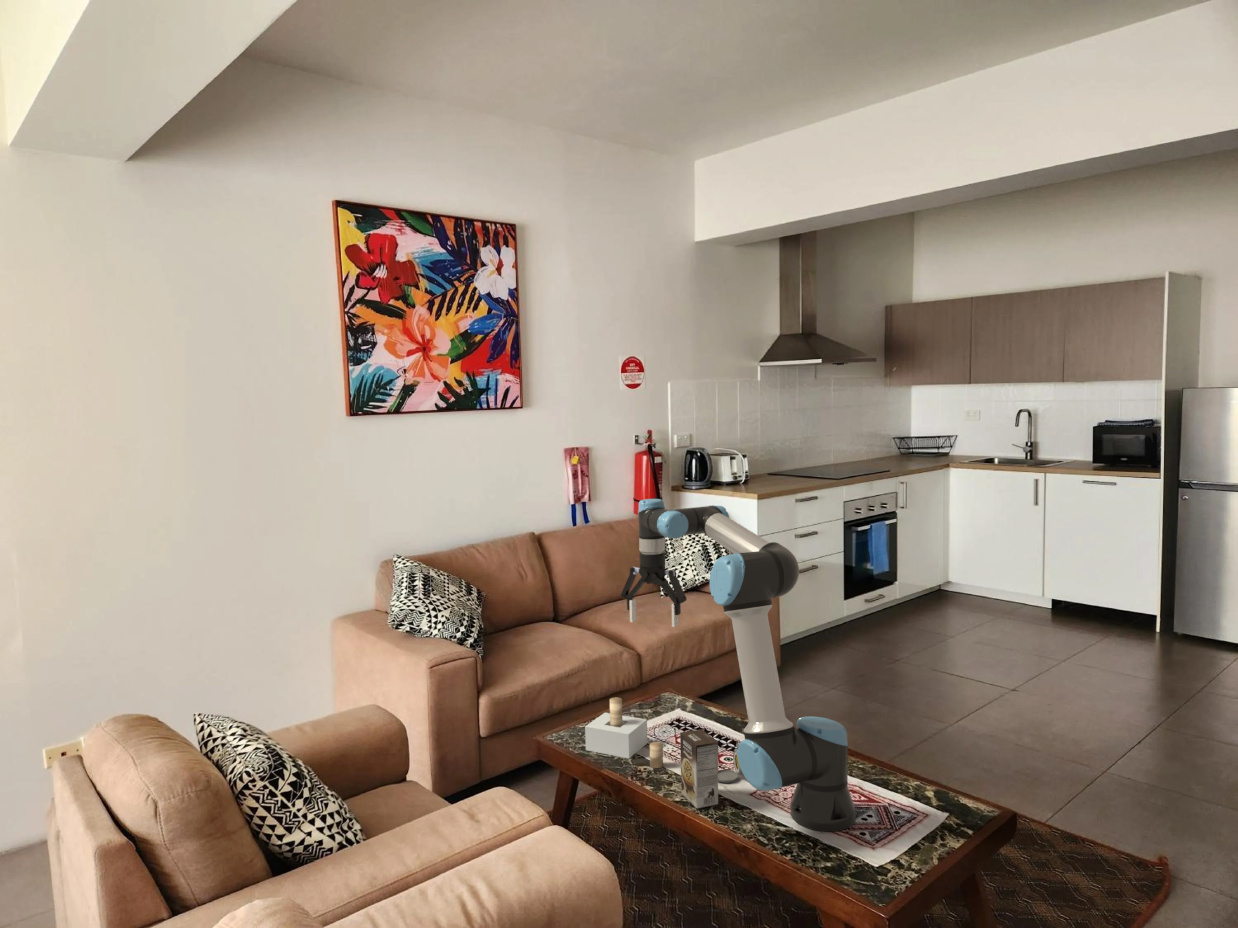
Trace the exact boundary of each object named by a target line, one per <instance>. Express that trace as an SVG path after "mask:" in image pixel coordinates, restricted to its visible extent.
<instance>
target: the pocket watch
mask: <svg viewBox="0 0 1238 928" xmlns="http://www.w3.org/2000/svg"><path fill="white" fill-rule="evenodd" d="M738 743H739V744H740V743H741V741H740V740H739V739H738V740H736V745H735V746H736V748H735V749H734V750H733V755H732V757H733V758H732V760H733V767H734V770H735V771H734V770H731V769H718V783H727V784H728V783H733V782H736V781H737V780H738V779H739V777H740V776H742V775H744V774H743V772H742V770H741V768H740V765H739V762H738V756H737V750H738V746H739V744H738Z"/></svg>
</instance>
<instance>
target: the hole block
mask: <svg viewBox="0 0 1238 928" xmlns="http://www.w3.org/2000/svg"><path fill="white" fill-rule="evenodd" d="M622 721H623V726H622V727H614V726H610V712H603V714H600V716H598V717H597V718H595V719H593V720H592V721H591V722H589V723H588V724H586V726H584V735H585V739H584V740H585V751H589V752H594V753H599V754H603V755H610V756H614V757H618V758H624V759H630V758H632V757H633V756H634V755H635V754H636V753H637V752H639V751H640V750H641V749H642V748H643V747H644V746H646V745H647V744H648V719H647V718H646V719H645V718H641V717H640V718H639V717H633V716H629V715H623V714H622Z"/></svg>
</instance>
